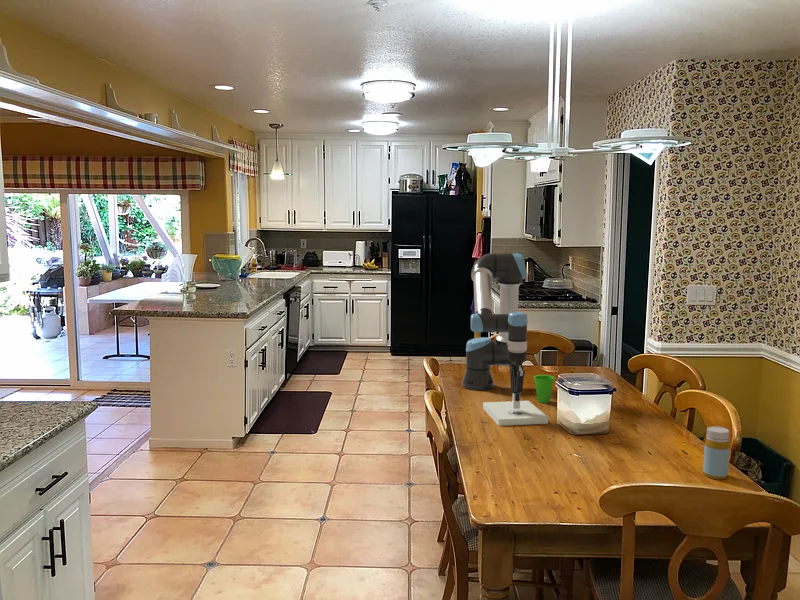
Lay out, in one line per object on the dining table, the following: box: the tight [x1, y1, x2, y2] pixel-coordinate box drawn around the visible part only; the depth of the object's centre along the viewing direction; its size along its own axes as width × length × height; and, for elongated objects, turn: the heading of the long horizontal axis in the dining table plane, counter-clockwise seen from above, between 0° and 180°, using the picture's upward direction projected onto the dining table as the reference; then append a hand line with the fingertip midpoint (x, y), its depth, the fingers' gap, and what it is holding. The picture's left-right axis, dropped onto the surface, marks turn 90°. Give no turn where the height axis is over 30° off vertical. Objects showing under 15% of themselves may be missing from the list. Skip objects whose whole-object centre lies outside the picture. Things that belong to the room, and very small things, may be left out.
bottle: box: [702, 425, 731, 481], centre depth 202 cm, size 7×7×15 cm
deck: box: [482, 400, 549, 427], centre depth 266 cm, size 24×20×2 cm
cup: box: [533, 374, 556, 404], centre depth 286 cm, size 9×9×11 cm
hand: (516, 408), depth 264 cm, fingers closed
